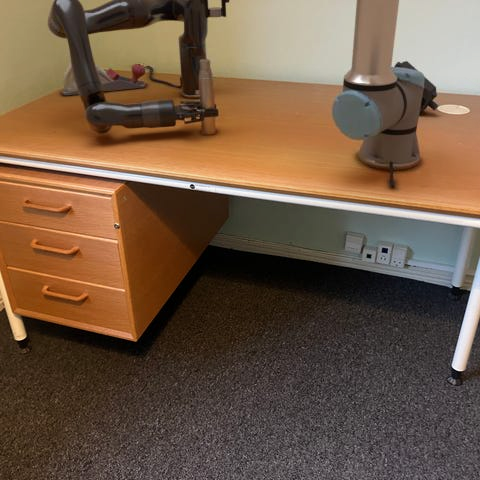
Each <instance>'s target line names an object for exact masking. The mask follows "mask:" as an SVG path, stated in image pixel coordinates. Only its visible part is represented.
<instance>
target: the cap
mask: <svg viewBox="0 0 480 480" xmlns="http://www.w3.org/2000/svg"><path fill="white" fill-rule="evenodd" d="M208 13H209V18H222V17H223V10H222V7H220V6H219V7H218V6H214V7H213V6H212V7H208Z"/></svg>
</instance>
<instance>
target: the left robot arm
mask: <svg viewBox="0 0 480 480" xmlns="http://www.w3.org/2000/svg"><path fill="white" fill-rule="evenodd" d="M208 21H209V18H206V17H205V14H204V4H201V3H200V0H110V1H107V2H106V3H105V2H104V3H103V4H101V5H99V6H97V7H94V8H90V9H85V8H84V6H83V4H82V2H81V1H80V0H53V2H52V4H51V6H50V10H49V13H48V16H47V28H48V30H49V31H50V32H51V34H53V35H54V36H56V37H58V38H61V39H66V41H67V44H68V50H69V57H70V58H69V59H70V63H71V67H72V73H73V77H74V81H75V84H76V87H77V90H78V93H79V94H78V96H79V98H80V99H81V102H82V104H83V108H84V111H85V115H84V116H85V120H86V121H87V124H88V126H89V127H90V130H92V131H93V132H94V133H96V134H98V135H105V134H108V133H109V132H110V131H111V130H112V129H113V127H118V126H119V127H120V126H121V127H123V128H125V129H128V130H129V129H130V130H132V129H134V130H135V129H143V128H144V129H157V128H159V129H160V128H168V127H171V128H172V127H176V125H177V122H176V121H182V122H184V125H189V124H195V123H199V122H200V123H201V121H204V119H205V118H206V117H215V118H217V117H219V115H220V114H219V109H218V108H217V104H216V103H215V109H200V100H198V101H194V100H193V101H191V100H190V101H189V100H181V101H180V104H176V105H175V102H174V100H173V99H162V100H149V101H143V102H133V103H120V102H110V101H107V99H106V96H105V91H103V87H102V83H101V80H100V77H99V74H98V71H97V68H96V67H97V65H96V61H95V59H94V54H93V50H92V47H91V42H90V36H89V35H93V34H98V33H109V32H116V31H117V32H118V31H128V30H129V31H130V30H139V29H145V28H147V27H150V26H153V25H154V24H156V23H160V22H181V23H183V33H182V34H180V35H178V39H177V40H178V51H179V52H178V53H179V64H180V76H179V83H180V85H175V84H173V83H171V82H169V81H167V80H161V79H157V78H154V77H153V76H152V75H153V71H154V68H153V67H152V66H150V65H148V66H144V65H142V66H143V67H145V68H148V69H150V71H149V78H150V79H151V80H152V81H154V82H158V83H162V84H166V85H168V86H170V87H174V88H177V89H181V91H182V92H181V94H182V96H183V97H184V98H188V99H200V95H199V72H200V60H202V59H208V58H207V38H208V32H209V30H208V29H209V27H208V26H209V25H208ZM135 64H136V63H134V64H133V65H135Z"/></svg>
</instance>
